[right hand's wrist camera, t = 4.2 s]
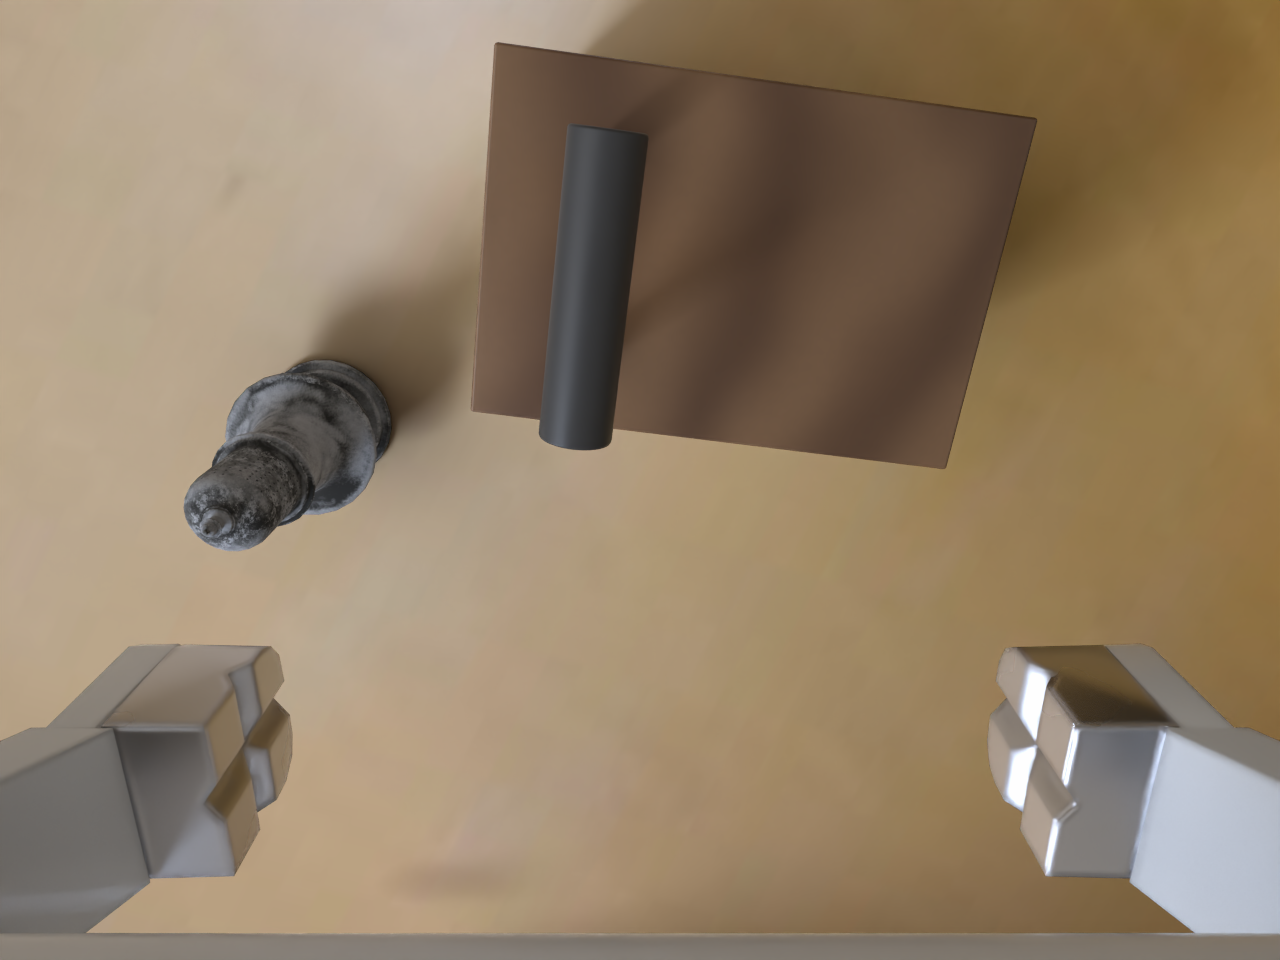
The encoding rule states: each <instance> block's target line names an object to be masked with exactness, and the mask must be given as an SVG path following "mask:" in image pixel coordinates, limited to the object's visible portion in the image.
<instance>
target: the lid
mask: <svg viewBox="0 0 1280 960" xmlns="http://www.w3.org/2000/svg"><path fill="white" fill-rule="evenodd" d="M1036 123H1037V119H1036V118H1032V117H1025V116H1018V115H1011V114H1004V113H997V112H990V111H983V110H976V109H968V108H961V107H954V106H947V105H940V104H933V103H926V102H919V101H912V100H905V99H897V98H890V97H883V96H876V95H869V94H862V93H855V92H848V91H841V90H834V89H826V88H819V87H812V86H805V85H798V84H791V83H784V82H777V81H770V80H763V79H755V78H748V77H741V76H734V75H727V74H720V73H713V72H706V71H699V70H692V69H684V68H677V67H670V66H663V65H656V64H649V63H642V62H635V61H628V60H621V59H613V58H606V57H599V56H592V55H585V54H578V53H571V52H564V51H557V50H549V49H542V48H535V47H528V46H521V45H514V44H507V43H500V42H497V43H495V45H494V59H493V75H492V90H491V106H490V121H489V137H488V152H487V167H486V183H485V198H484V214H483V229H482V244H481V260H480V275H479V291H478V306H477V322H476V337H475V352H474V368H473V383H472V399H471V410H472V411H473V412H482V413H490V414H498V415H506V416H514V417H522V418H531V419H539V420H540V426H539V435H540V437H541V439H542V440H544V441H545V442H547V443H549V444H552V445H555V446H558V447H562V448H566V449H573V450H596V449H601V448H604V447H607V446H608V445H609V444H610V443H611V440H612V432H613V429H620V430H628V431H637V432H645V433H653V434H661V435H669V436H677V437H686V438H694V439H702V440H710V441H718V442H726V443H735V444H743V445H751V446H759V447H767V448H775V449H784V450H792V451H800V452H808V453H816V454H824V455H833V456H841V457H849V458H857V459H865V460H873V461H882V462H890V463H898V464H906V465H914V466H922V467H931V468H939V469H945V468H946V466H947V462H948V458H949V454H950V450H951V447H952V443H953V439H954V435H955V431H956V428H957V424H958V420H959V416H960V412H961V409H962V405H963V401H964V397H965V393H966V390H967V386H968V382H969V378H970V374H971V370H972V367H973V363H974V359H975V355H976V351H977V348H978V344H979V340H980V336H981V332H982V329H983V325H984V321H985V317H986V313H987V310H988V306H989V302H990V298H991V294H992V291H993V287H994V283H995V279H996V275H997V272H998V268H999V264H1000V260H1001V256H1002V252H1003V249H1004V245H1005V241H1006V237H1007V233H1008V230H1009V226H1010V222H1011V218H1012V214H1013V211H1014V207H1015V203H1016V199H1017V195H1018V192H1019V188H1020V184H1021V180H1022V176H1023V173H1024V169H1025V165H1026V161H1027V157H1028V154H1029V150H1030V146H1031V142H1032V138H1033V135H1034V131H1035V127H1036Z"/></svg>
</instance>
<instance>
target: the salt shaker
mask: <svg viewBox="0 0 1280 960" xmlns="http://www.w3.org/2000/svg"><path fill="white" fill-rule="evenodd" d="M390 433H391V418H390V411H389V409H388V406H387V403H386V400H385V398H384V396H383V395H382V393H381V392H380V390H379V389H378V388H377V386H376V385H375V383H373V382H372V381H371V380H370V379H369V378H368V377H367V376H366V375H364V374H363V373H362V372H360V371H358V370H357V369H355V368H353V367H351V366H349V365H347V364H344V363H340V362H336V361H332V360H313V361H309V362H305V363H301V364H299V365H297V366H295V367H294V368H292V369H290V370H288V371H287V372H285V373H281V374H277V375H273V376H269V377H266V378H263V379H261V380H260V381H258V382H256V383H255V384H253V385H251V386H250V387H248V388H247V389H246V390H245V391H244V392H243V393H242V394H241V395H240V397H239V398H238V399H237V400H236V401H235V403H234V405H233V407H232V409H231V412H230V414H229V416H228V419H227V427H226V435H225V437H226V442H225V443H224V444H223V445H222V447H221V448H220V449H219V450H218V451H217V453H216V455H215V457H214V460H213V462H212V467H211V468H210V469H209V470H208V471H206V472H205V473H204V474H202V475H201V476H200V477H198V478H197V479H196V481H195V482H194V483H193V484H192V485H191V486H190V488H189V490H188V492H187V494H186V497H185V501H184V512H185V517H186V520H187V522H188V524H189V526H190V528H191V529H192V530H193V531H194V533H195V534H196V535H197V536H198V537H199V538H200V539H202V540H203V541H204V542H206V543H207V544H209V545H211V546H213V547H215V548H218V549H222V550H226V551H242V550H246V549H250V548H252V547H254V546H256V545H258V544H259V543H261V542H263V541H264V540H265V539H266V538H267V537H268V536H269V535H270V534H271V532H272V531H273V530H274V529H275V528H276V527H277V526H282V525H286V524H289V523H291V522H293V521H295V520H297V519H299V518H300V517H301V516H302V515H303V514H317V515H319V514H323V513H328V512H332V511H336V510H338V509H340V508H342V507H344V506H345V505H347V504H349V503H351V502H353V501H354V500H355V499H356V498H357V497H358V495H359V494H360V493H361V492H362V491H363V490H364V489H365V488H366V486H367V484H368V482H369V480H370V479H371V477H372V475H373V473H374V468H375V463H376V462H377V461H378V459H379V458H380V457H381V456H382V455H383V453H384V451H385V449H386V447H387V445H388V443H389V438H390Z"/></svg>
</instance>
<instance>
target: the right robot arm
mask: <svg viewBox="0 0 1280 960" xmlns="http://www.w3.org/2000/svg"><path fill="white" fill-rule="evenodd" d="M283 682H284V677H283V672H282V667H281V662H280V657H279V654H278V653H277V652H276V651H275V650H274V649H273V648H272V647H271V646H230V645H180V644H147V645H136V646H130V647H128V648H127V649H126V650H125V651H124V652H123V653H122V654H121V655H120V656H119V657H118V658H117V659H116V660H115V661H114V662H113V663H112V664H110V665H109V666H108V667H107V668H106V669H105V670H104V671H103V672H102V673H101V674H100V675H99V676H98V677H97V678H96V679H95V680H94V681H93V682H92V683H91V684H90V685H89V686H88V687H87V688H86V689H85V690H84V691H83V692H82V693H81V694H80V695H79V696H78V697H77V698H76V699H75V700H74V701H73V702H72V703H71V704H70V705H69V706H68V707H67V708H66V709H65V710H64V711H63V712H61V713H60V714H59V715H58V716H57V717H56V718H55V719H54V720H53V721H52V722H51V723H50V724H49V725H48V726H47V727H46V728H29V729H27V730H25V731H22V732H20V733H18V734H16V735H13V736H11V737H9V738H6V739H4V740H2V741H0V960H1280V741H1278V740H1276V739H1274V738H1271V737H1269V736H1267V735H1264V734H1262V733H1260V732H1258V731H1255V730H1253V729H1251V728H1234V727H1233V726H1232V725H1231V724H1230V723H1229V722H1228V721H1227V720H1226V719H1225V718H1224V717H1223V716H1222V715H1221V714H1220V713H1219V712H1218V711H1217V710H1216V709H1215V708H1214V707H1212V706H1211V705H1210V704H1209V703H1208V702H1207V701H1206V700H1205V699H1204V698H1203V697H1202V696H1201V695H1200V694H1199V693H1198V692H1197V691H1196V690H1195V689H1194V688H1193V687H1192V686H1191V685H1190V684H1189V683H1188V682H1187V681H1186V680H1185V679H1184V678H1183V677H1182V676H1181V675H1180V674H1179V673H1178V672H1177V671H1176V670H1175V669H1174V668H1173V667H1172V666H1171V665H1170V664H1169V663H1168V662H1167V661H1166V660H1165V659H1164V658H1163V657H1162V656H1161V655H1160V654H1159V653H1158V652H1157V651H1155V650H1154V649H1153V648H1152V647H1149V646H1146V645H1143V644H1117V645H1083V646H1043V647H1012V648H1005V650H1004V652H1003V654H1002V656H1001V658H1000V661H999V665H998V671H997V677H996V682H997V683H998V685H999V687H1000V688H1001V690H1002V691H1003V693H1004V694H1005V696H1006V697H1007V698H1006V699H1005V700H1004V701H1003V702H1002V703H1001V704H1000V705H999V706H998V707H997V708H996V709H995V711H994V712H993V713H992V714H991V715H990V721H989V729H988V737H987V745H988V756H989V766H990V769H991V772H992V775H993V779H994V782H995V784H996V786H997V788H998V790H999V792H1000V794H1001V796H1002V798H1003V800H1005V801H1006V802H1008V803H1009V804H1011V805H1012V806H1014V807H1015V808H1017V809H1018V810H1020V811H1022V812H1023V814H1022V819H1021V825H1020V831H1021V832H1022V834H1023V836H1024V838H1025V839H1026V841H1027V843H1028V845H1029V847H1030V848H1031V850H1032V852H1033V854H1034V856H1035V857H1036V859H1037V861H1038V863H1039V864H1040V866H1041V868H1042V870H1043V872H1044V873H1045V875H1046V876H1059V877H1095V878H1130V883H1131V884H1133V885H1134V886H1135V887H1136V888H1138V889H1139V890H1140V891H1142V892H1143V893H1144V894H1145V895H1147V896H1148V897H1149V898H1151V899H1152V900H1153V901H1154V902H1156V903H1157V904H1158V905H1160V906H1161V907H1162V908H1163V909H1165V910H1166V911H1167V912H1169V913H1170V914H1171V915H1172V916H1174V917H1175V918H1176V919H1178V920H1179V921H1180V922H1181V923H1183V924H1184V925H1185V926H1187V927H1188V928H1189V929H1190V930H1192V931H1193V932H1194V933H86V932H87V931H89V930H90V929H91V928H92V927H94V926H95V925H96V924H98V923H99V922H100V921H101V920H103V919H104V918H105V917H107V916H108V915H109V914H110V913H112V912H113V911H114V910H116V909H117V908H118V907H119V906H121V905H122V904H123V903H125V902H126V901H127V900H128V899H130V898H131V897H132V896H134V895H135V894H136V893H137V892H139V891H140V890H141V889H143V888H144V887H145V886H146V885H148V884H149V883H150V879H149V878H183V877H219V876H234V875H235V874H236V872H237V870H238V868H239V866H240V865H241V863H242V861H243V859H244V857H245V856H246V854H247V852H248V850H249V848H250V847H251V845H252V843H253V841H254V839H255V838H256V836H257V834H258V832H259V831H260V825H259V819H258V814H257V812H258V811H260V810H262V809H263V808H265V807H266V806H268V805H269V804H271V803H272V802H274V801H275V800H277V798H278V796H279V794H280V792H281V790H282V788H283V786H284V784H285V782H286V780H287V775H288V771H289V767H290V762H291V758H292V727H291V720H290V715H289V714H288V713H287V712H286V711H285V710H284V708H283V707H282V706H281V705H280V704H279V703H278V702H277V701H276V700H275V699H274V698H273V697H274V696H275V694H276V693H277V691H278V690H279V688H280V687H281V685H282V683H283Z"/></svg>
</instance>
